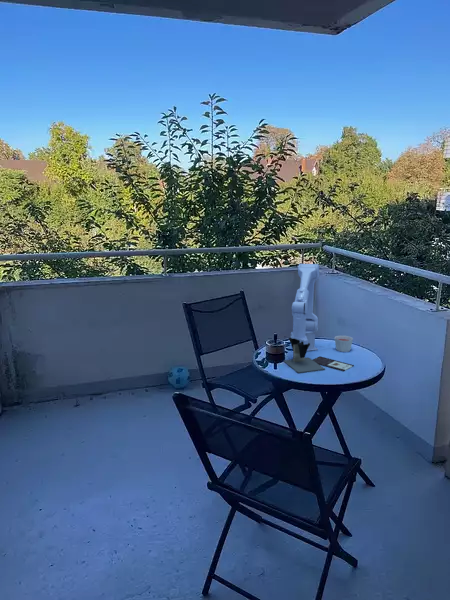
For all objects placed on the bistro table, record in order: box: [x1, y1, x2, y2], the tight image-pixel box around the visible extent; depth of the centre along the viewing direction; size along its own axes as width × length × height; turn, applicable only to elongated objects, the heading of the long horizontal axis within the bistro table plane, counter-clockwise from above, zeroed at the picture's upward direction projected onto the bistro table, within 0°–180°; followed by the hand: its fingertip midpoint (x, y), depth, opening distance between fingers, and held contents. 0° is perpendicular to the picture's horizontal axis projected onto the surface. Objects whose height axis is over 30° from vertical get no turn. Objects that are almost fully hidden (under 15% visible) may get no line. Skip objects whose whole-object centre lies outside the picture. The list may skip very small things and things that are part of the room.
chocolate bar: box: [312, 356, 355, 372], centre depth 193 cm, size 9×1×18 cm
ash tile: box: [292, 344, 306, 362], centre depth 195 cm, size 2×5×8 cm, turn 106°
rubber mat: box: [283, 357, 326, 374], centre depth 192 cm, size 16×13×1 cm
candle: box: [334, 335, 354, 353], centre depth 212 cm, size 9×9×6 cm
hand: (298, 354), depth 196 cm, fingers open, 7 cm apart
